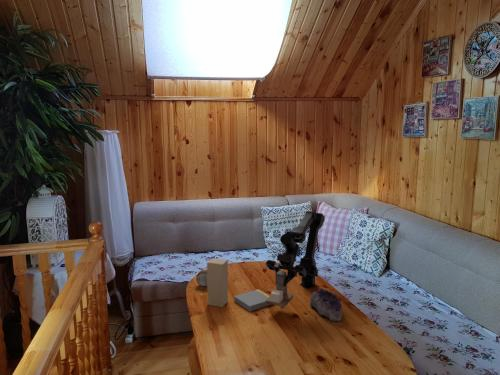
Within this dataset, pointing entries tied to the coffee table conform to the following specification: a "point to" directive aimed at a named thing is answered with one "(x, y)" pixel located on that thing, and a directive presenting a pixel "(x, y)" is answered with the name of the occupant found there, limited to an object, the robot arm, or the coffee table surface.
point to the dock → (252, 300)
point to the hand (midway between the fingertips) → (280, 285)
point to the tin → (202, 278)
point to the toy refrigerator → (217, 282)
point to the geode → (327, 305)
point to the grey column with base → (279, 284)
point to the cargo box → (276, 296)
